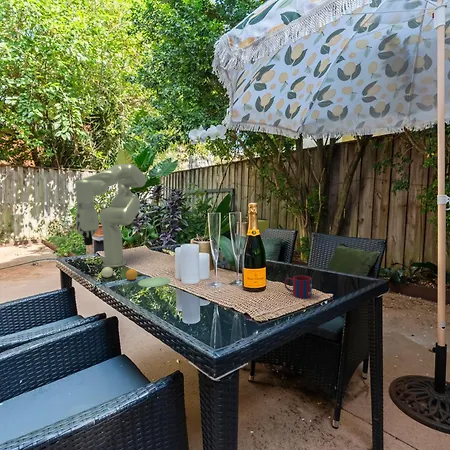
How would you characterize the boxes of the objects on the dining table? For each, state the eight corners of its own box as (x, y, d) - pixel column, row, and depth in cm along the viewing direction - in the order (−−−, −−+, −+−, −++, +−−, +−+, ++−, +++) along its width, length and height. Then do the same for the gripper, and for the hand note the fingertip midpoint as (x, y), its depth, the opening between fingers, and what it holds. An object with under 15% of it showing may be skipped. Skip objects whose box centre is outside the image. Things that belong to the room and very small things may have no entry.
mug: (308, 300, 110) (308, 281, 109) (281, 295, 116) (281, 277, 115) (313, 294, 116) (314, 276, 115) (288, 290, 121) (288, 273, 120)
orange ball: (123, 280, 139) (123, 270, 138) (130, 277, 144) (130, 267, 143) (133, 281, 137) (132, 270, 137) (139, 278, 142) (139, 268, 141)
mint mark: (131, 285, 132) (131, 284, 132) (150, 276, 145) (150, 276, 145) (159, 288, 127) (159, 287, 127) (176, 279, 140) (176, 278, 140)
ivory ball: (99, 278, 144) (98, 267, 144) (107, 275, 149) (106, 265, 148) (107, 279, 142) (107, 268, 142) (115, 276, 147) (114, 266, 146)
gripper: (79, 207, 137) (82, 248, 139) (103, 205, 151) (106, 242, 153) (66, 207, 140) (69, 247, 142) (91, 205, 154) (94, 242, 156)
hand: (88, 244), depth 147 cm, fingers closed
